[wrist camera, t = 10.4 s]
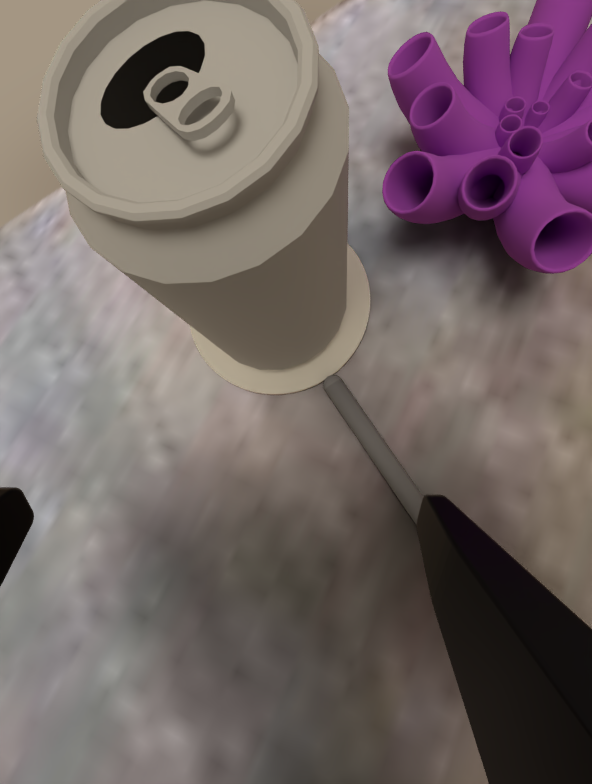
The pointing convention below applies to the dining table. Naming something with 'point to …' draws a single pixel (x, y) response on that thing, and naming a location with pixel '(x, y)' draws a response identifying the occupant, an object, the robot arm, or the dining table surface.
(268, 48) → the can
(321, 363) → the disc
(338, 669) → the dining table surface
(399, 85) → the purple tube coral sculpture
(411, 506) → the thin grey rod
